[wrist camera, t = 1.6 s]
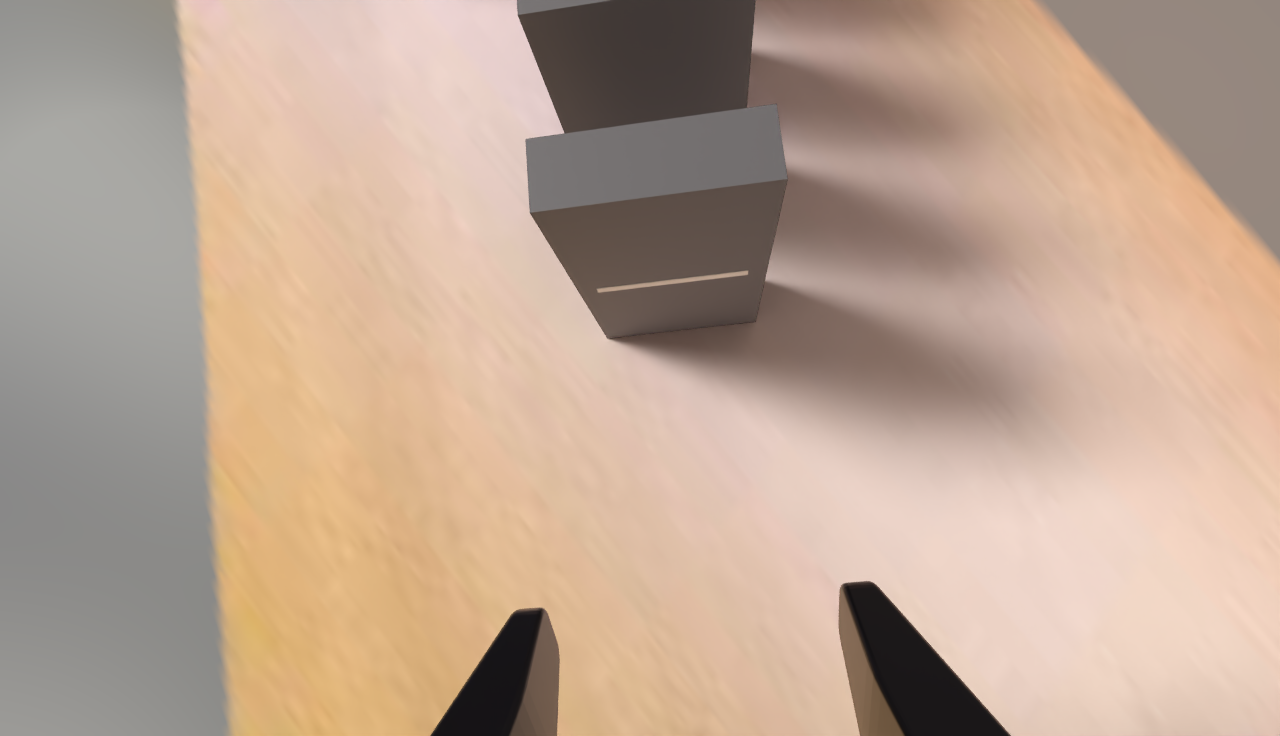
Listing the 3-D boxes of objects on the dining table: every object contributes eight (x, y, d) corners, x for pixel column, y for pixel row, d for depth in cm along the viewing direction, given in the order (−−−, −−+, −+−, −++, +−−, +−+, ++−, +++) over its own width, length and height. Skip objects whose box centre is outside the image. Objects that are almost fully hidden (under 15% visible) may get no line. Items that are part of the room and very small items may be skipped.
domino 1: (739, 197, 24) (757, -22, 14) (597, 216, 24) (517, 16, 14) (733, 155, 24) (747, -89, 14) (593, 173, 24) (514, -50, 15)
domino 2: (755, 322, 23) (787, 180, 13) (607, 338, 23) (530, 213, 13) (749, 275, 23) (776, 102, 13) (603, 293, 23) (525, 138, 14)
